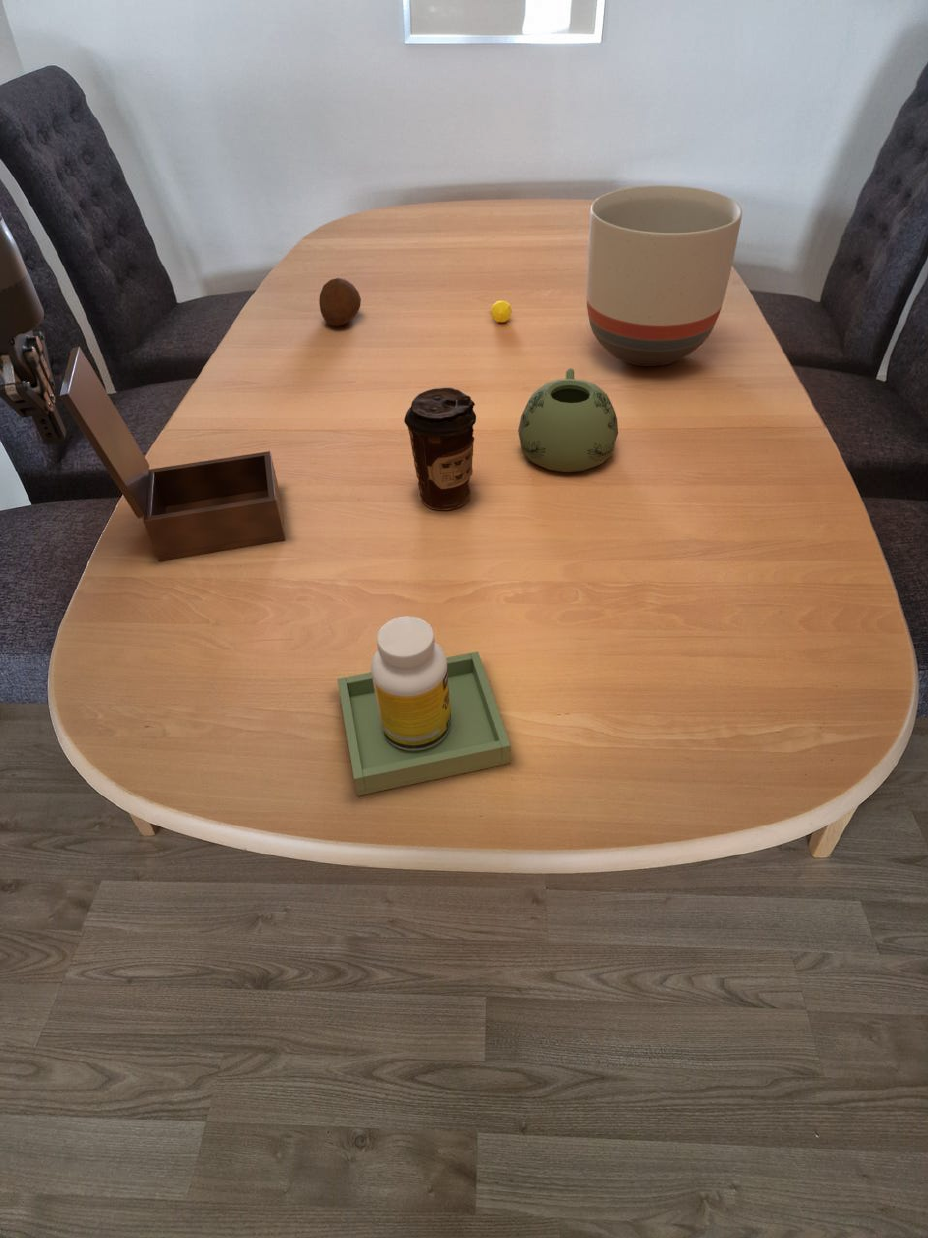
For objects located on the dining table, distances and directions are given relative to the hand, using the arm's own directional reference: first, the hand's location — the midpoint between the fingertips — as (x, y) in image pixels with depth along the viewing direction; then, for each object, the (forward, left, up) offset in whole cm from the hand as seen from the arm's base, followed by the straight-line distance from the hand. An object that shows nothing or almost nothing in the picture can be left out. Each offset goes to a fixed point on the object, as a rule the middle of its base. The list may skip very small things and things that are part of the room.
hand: (56, 439), depth 86 cm
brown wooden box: (+14, 0, -14) cm, 20 cm away
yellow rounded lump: (+62, +46, -14) cm, 78 cm away
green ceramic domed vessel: (+60, +5, -14) cm, 61 cm away
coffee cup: (+42, -2, -14) cm, 44 cm away
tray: (+32, -37, -14) cm, 51 cm away
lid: (+6, 0, 0) cm, 6 cm away
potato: (+36, +54, -14) cm, 66 cm away
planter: (+80, +26, -14) cm, 85 cm away
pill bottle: (+31, -37, -14) cm, 50 cm away
